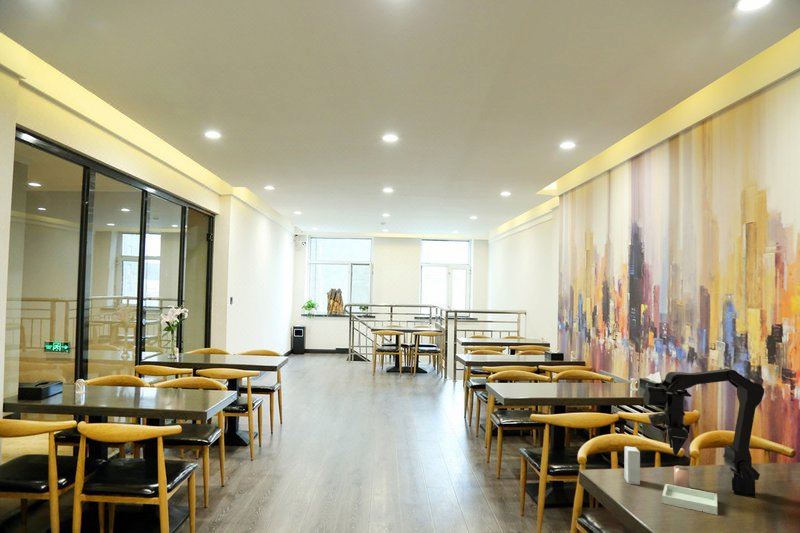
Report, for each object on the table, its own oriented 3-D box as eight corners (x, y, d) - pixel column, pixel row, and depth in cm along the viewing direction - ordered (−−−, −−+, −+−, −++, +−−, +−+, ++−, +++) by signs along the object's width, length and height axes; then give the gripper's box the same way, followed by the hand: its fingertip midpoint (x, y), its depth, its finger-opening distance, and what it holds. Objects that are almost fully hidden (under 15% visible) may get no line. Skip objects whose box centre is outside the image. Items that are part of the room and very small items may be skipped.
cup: (690, 487, 183) (689, 467, 183) (689, 491, 178) (689, 471, 179) (674, 484, 185) (674, 464, 186) (673, 488, 181) (673, 468, 181)
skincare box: (640, 485, 183) (640, 451, 184) (628, 483, 184) (627, 450, 185) (636, 479, 189) (636, 446, 190) (624, 478, 190) (623, 445, 191)
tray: (717, 501, 170) (717, 493, 170) (717, 514, 159) (717, 506, 159) (665, 490, 178) (665, 483, 178) (662, 503, 168) (662, 495, 168)
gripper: (648, 399, 193) (646, 441, 193) (653, 409, 176) (651, 454, 175) (680, 404, 189) (679, 446, 188) (689, 414, 172) (687, 460, 171)
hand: (673, 451), depth 181 cm, fingers open, 9 cm apart
